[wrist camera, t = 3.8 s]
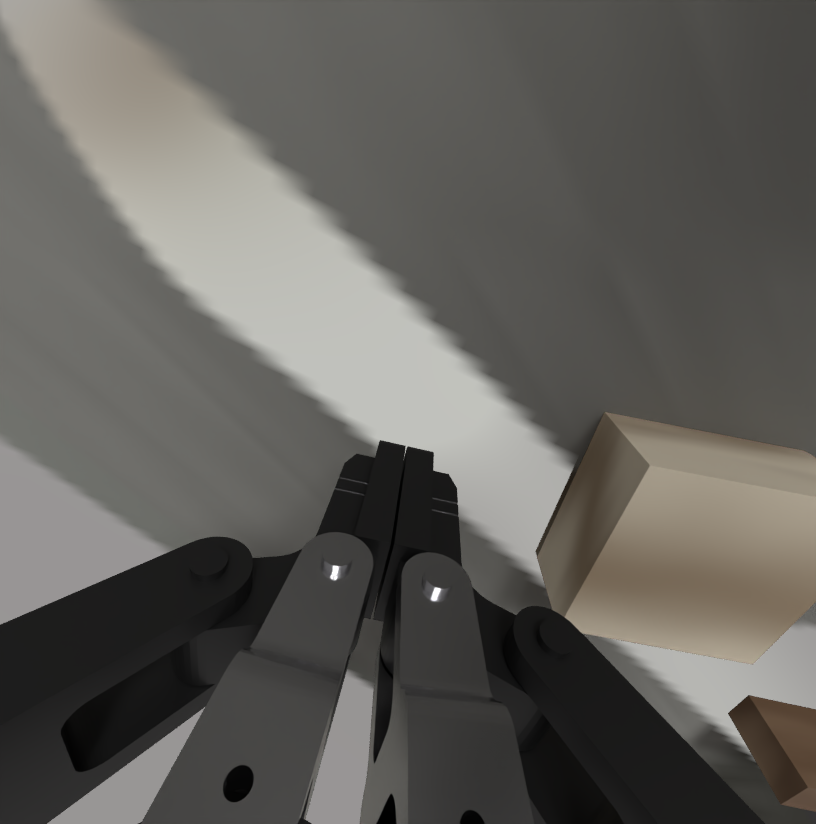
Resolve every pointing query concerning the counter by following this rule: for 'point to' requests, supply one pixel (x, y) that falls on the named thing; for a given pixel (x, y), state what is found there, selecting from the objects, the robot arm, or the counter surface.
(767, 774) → the wooden u-shaped bracket
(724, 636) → the maple tile
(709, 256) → the counter surface
